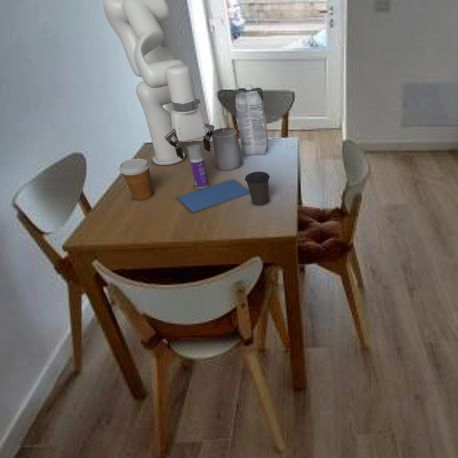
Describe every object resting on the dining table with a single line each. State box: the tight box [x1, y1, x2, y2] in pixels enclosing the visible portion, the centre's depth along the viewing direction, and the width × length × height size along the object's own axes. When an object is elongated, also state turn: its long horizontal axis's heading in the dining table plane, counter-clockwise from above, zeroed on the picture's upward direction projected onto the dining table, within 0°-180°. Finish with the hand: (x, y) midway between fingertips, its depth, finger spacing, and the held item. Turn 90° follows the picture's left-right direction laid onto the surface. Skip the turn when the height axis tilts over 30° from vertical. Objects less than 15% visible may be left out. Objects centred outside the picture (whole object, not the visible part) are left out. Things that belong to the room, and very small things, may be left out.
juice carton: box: [234, 84, 269, 156], centre depth 174 cm, size 9×10×27 cm
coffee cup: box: [244, 171, 271, 206], centre depth 142 cm, size 8×8×10 cm
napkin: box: [177, 179, 250, 213], centre depth 149 cm, size 13×21×1 cm, turn 129°
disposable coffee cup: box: [118, 158, 153, 201], centre depth 147 cm, size 10×10×12 cm
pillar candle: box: [211, 127, 243, 171], centre depth 166 cm, size 10×10×15 cm
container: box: [186, 143, 209, 190], centre depth 151 cm, size 5×5×15 cm
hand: (194, 154), depth 150 cm, fingers open, 9 cm apart
